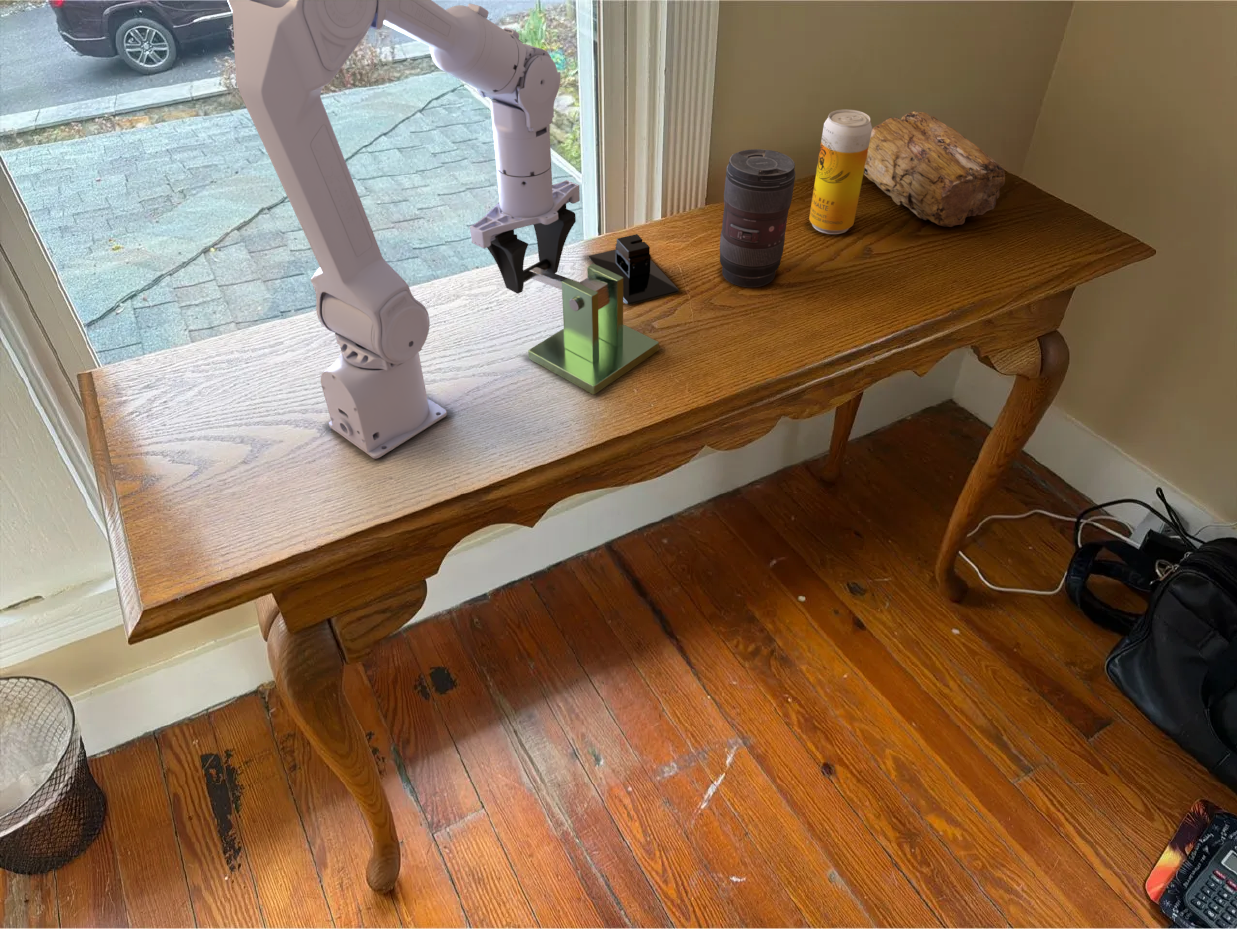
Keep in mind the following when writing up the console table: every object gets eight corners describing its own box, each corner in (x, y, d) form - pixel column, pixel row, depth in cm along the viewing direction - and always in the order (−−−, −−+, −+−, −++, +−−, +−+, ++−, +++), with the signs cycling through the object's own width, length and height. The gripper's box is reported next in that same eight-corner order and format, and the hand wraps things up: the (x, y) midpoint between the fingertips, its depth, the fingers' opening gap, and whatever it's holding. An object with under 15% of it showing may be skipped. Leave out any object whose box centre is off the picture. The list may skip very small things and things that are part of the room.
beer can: (800, 218, 126) (816, 111, 116) (839, 212, 127) (859, 105, 117) (820, 239, 122) (839, 129, 112) (860, 232, 123) (882, 123, 113)
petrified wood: (1006, 219, 125) (1016, 154, 117) (923, 253, 124) (927, 190, 116) (926, 158, 138) (930, 96, 130) (850, 188, 137) (850, 128, 129)
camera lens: (792, 283, 114) (810, 169, 103) (735, 296, 111) (747, 181, 101) (761, 253, 119) (775, 142, 109) (706, 264, 117) (715, 152, 107)
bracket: (528, 358, 102) (522, 283, 95) (594, 318, 108) (592, 244, 101) (593, 395, 97) (592, 318, 90) (658, 350, 103) (661, 275, 96)
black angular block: (679, 293, 112) (681, 260, 109) (626, 307, 110) (626, 273, 107) (636, 246, 120) (637, 214, 117) (586, 258, 118) (585, 226, 115)
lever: (513, 289, 102) (510, 269, 100) (544, 271, 105) (542, 252, 103) (587, 316, 95) (585, 296, 94) (618, 297, 98) (617, 277, 97)
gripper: (498, 201, 88) (509, 319, 97) (599, 154, 96) (600, 267, 105) (450, 179, 91) (465, 295, 100) (551, 135, 99) (556, 247, 108)
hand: (531, 279), depth 103 cm, fingers closed on lever, 5 cm apart
